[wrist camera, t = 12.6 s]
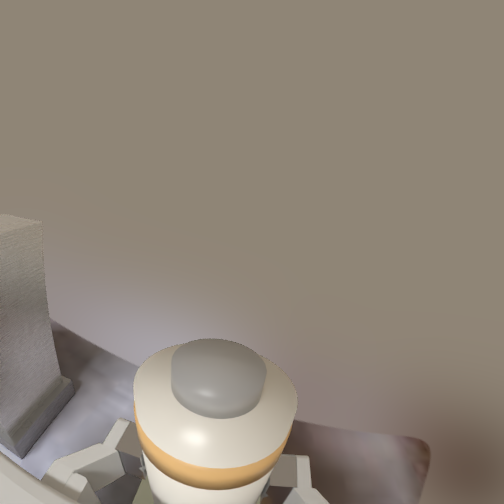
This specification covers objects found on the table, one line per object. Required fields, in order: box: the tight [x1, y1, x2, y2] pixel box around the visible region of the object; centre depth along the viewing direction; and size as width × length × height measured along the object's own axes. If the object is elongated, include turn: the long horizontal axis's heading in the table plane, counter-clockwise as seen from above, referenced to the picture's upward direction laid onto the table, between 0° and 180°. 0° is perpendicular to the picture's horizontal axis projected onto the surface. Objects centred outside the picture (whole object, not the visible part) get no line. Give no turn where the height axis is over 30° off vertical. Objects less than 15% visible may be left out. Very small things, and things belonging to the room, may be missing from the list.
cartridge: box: [133, 339, 298, 504], centre depth 8 cm, size 4×4×11 cm
